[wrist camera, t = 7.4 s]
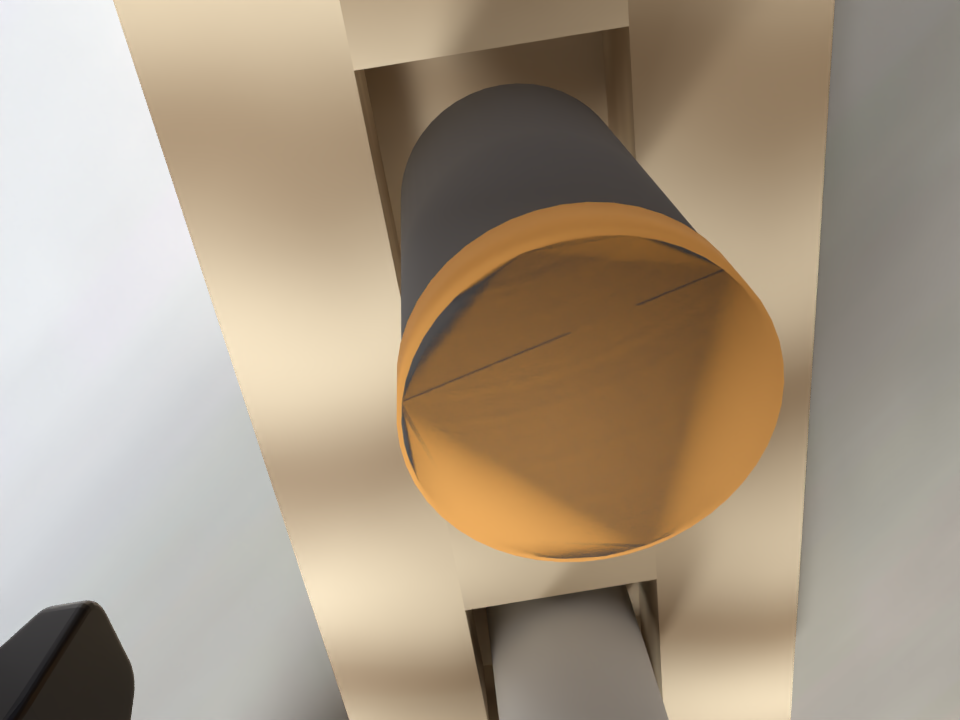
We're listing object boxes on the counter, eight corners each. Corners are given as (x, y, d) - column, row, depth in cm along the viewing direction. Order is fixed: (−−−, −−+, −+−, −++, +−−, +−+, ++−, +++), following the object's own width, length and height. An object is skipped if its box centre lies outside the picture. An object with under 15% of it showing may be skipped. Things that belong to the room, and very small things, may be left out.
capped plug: (636, 287, 16) (777, 530, 10) (420, 322, 16) (432, 587, 10) (624, 61, 14) (792, 197, 8) (376, 101, 14) (358, 267, 8)
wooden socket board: (751, 674, 28) (787, 757, 25) (384, 734, 28) (383, 823, 25) (774, -206, 16) (848, -223, 13) (133, -103, 16) (80, -99, 13)
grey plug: (627, 632, 25) (698, 864, 19) (494, 654, 25) (524, 893, 19) (619, 530, 23) (695, 753, 17) (475, 553, 23) (502, 784, 17)
